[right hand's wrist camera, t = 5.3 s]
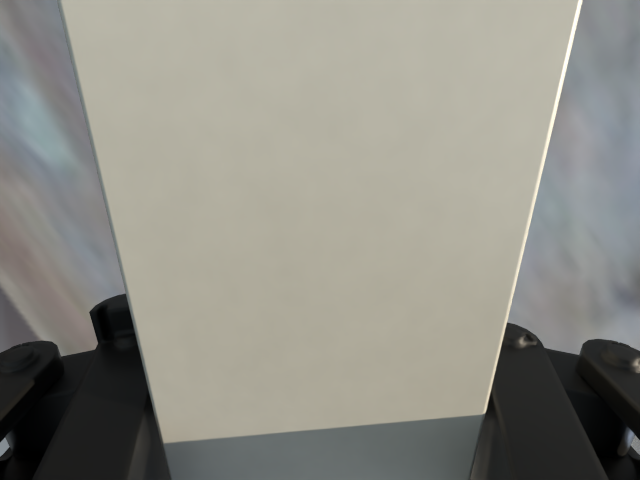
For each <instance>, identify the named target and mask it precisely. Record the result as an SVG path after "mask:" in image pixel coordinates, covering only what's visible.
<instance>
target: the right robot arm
mask: <svg viewBox="0 0 640 480" xmlns="http://www.w3.org/2000/svg"><path fill="white" fill-rule="evenodd" d="M89 313H90V316H91V320H92V323H93V327H94V330H95V334H96V337H97V341H98V345H97V347H96V349H95V350H92V351H87V352H82V353H77V354H72V355H67V356H62V357H61V355H60V352H59V349H58V346H57V345H56V344H54V343H53V342H50V341H35V342H27V343H23V344H22V345H21V344H19V345H16V346H13V347H11V348H10V349H8V350H6V351H4V352H1V353H0V442H1V441H2V440H3V439H4V438H6V440H7V442H8V444H9V446H10V447H9V448H8V450H7V451H6V452H5V453H4V454H3V455H2V456H1V457H0V480H170V478H169V474H168V470H167V466H166V461H165V457H164V453H163V449H162V444H161V440H160V436H159V432H158V427H157V423H156V419H155V415H154V410H153V406H152V402H151V398H150V393H149V389H148V385H147V381H146V376H145V372H144V368H143V364H142V359H141V355H140V351H139V347H138V342H137V338H136V334H135V330H134V325H133V321H132V317H131V313H130V308H129V304H128V300H127V296H126V294H122V295H117V296H115V297H112V298H109V299H106V300H104V301H103V302H101V303H99V304H98V305H96V306H95V307H94V308H93V309H92V310H91V311H90V312H89ZM635 435H636V436H637V437H638V439H639V440H640V351H638V350H636V349H634V348H632V347H630V346H628V345H626V344H623V343H618V342H616V341H612V340H602V339H594V340H588V341H587V342H585V343H584V344H583V345H582V348H581V351H580V354H579V355H576V354H571V353H566V352H561V351H555V350H551V349H547V348H544V346H543V344H542V343H541V341H540V340H539V339H538V338H537V336H536V335H534V334H533V333H531V332H530V331H528V330H527V329H525V328H522V327H520V326H518V325H515V324H511V323H507V324H506V328H505V332H504V336H503V341H502V345H501V349H500V354H499V358H498V362H497V366H496V371H495V375H494V379H493V383H492V388H491V392H490V396H489V400H488V405H487V409H486V413H485V417H484V422H483V426H482V430H481V434H480V439H479V443H478V447H477V451H476V456H475V460H474V464H473V468H472V473H471V477H470V480H640V455H639V454H638V453H637V452H636V451H635V450H634V449H633V448H632V446H631V443H632V441H633V439H634V437H635Z"/></svg>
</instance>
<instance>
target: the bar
mask: <svg viewBox="0 0 640 480" xmlns="http://www.w3.org/2000/svg"><path fill="white" fill-rule="evenodd" d="M57 3H58V7H59V11H60V15H61V20H62V24H63V28H64V32H65V37H66V41H67V45H68V49H69V54H70V58H71V62H72V66H73V71H74V75H75V79H76V83H77V88H78V92H79V96H80V100H81V105H82V109H83V113H84V117H85V122H86V126H87V130H88V134H89V139H90V143H91V147H92V151H93V156H94V160H95V164H96V168H97V173H98V177H99V181H100V185H101V190H102V194H103V198H104V202H105V207H106V211H107V215H108V219H109V224H110V228H111V232H112V236H113V241H114V245H115V249H116V253H117V258H118V262H119V266H120V270H121V275H122V279H123V283H124V287H125V291H126V296H127V300H128V304H129V308H130V313H131V317H132V321H133V325H134V330H135V334H136V338H137V342H138V347H139V351H140V355H141V359H142V364H143V368H144V372H145V376H146V381H147V385H148V389H149V393H150V398H151V402H152V406H153V410H154V415H155V419H156V423H157V427H158V432H159V436H160V440H161V444H162V449H163V453H164V457H165V461H166V466H167V470H168V474H169V478H170V480H470V477H471V473H472V468H473V464H474V460H475V456H476V451H477V447H478V443H479V439H480V434H481V430H482V426H483V422H484V417H485V413H486V409H487V405H488V400H489V396H490V392H491V388H492V383H493V379H494V375H495V371H496V366H497V362H498V358H499V354H500V349H501V345H502V341H503V336H504V332H505V328H506V324H507V319H508V315H509V311H510V307H511V302H512V298H513V294H514V290H515V285H516V281H517V277H518V273H519V268H520V264H521V260H522V256H523V251H524V247H525V243H526V239H527V234H528V230H529V226H530V222H531V217H532V213H533V209H534V205H535V200H536V196H537V192H538V188H539V183H540V179H541V175H542V171H543V166H544V162H545V158H546V154H547V149H548V145H549V141H550V137H551V132H552V128H553V124H554V119H555V115H556V111H557V107H558V102H559V98H560V94H561V90H562V85H563V81H564V77H565V73H566V68H567V64H568V60H569V56H570V51H571V47H572V43H573V39H574V34H575V30H576V26H577V22H578V17H579V13H580V9H581V5H582V0H57Z"/></svg>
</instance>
